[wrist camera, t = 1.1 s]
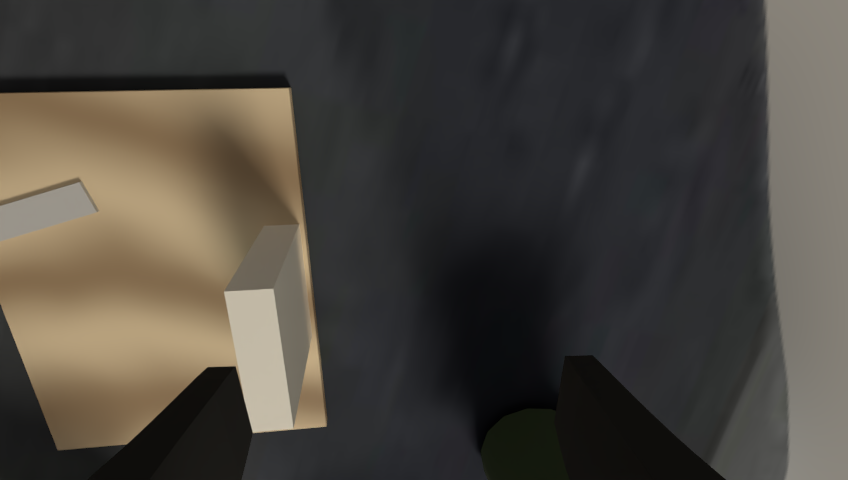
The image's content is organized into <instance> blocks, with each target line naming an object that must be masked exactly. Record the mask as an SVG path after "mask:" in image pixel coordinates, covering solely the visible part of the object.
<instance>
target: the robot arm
mask: <svg viewBox="0 0 848 480" xmlns="http://www.w3.org/2000/svg"><path fill="white" fill-rule="evenodd" d="M554 424H555V428H556V432H557V436H558V441H559V445H560V449H561V453H562V457H563V460H564V464H565V468H566V471H567V474H568V477H569V479H570V480H726V479H724V478H723V477H722V476H721V475H720V474H718V473H717V472H716V471H715V470H714V469H713V468H711V467H710V466H709V465H708V464H707V463H706V462H704V461H703V460H702V459H701V458H700V457H698V456H697V455H696V454H695V453H694V452H693V451H691V450H690V449H689V448H688V447H687V446H686V445H685V444H684V443H683V442H681V441H680V440H679V439H678V438H677V437H676V436H675V435H674V434H673V433H672V432H671V431H669V430H668V429H667V428H666V427H665V426H664V425H663V424H662V423H661V422H660V421H659V420H658V419H657V418H656V417H655V416H653V415H652V414H651V413H650V412H649V411H648V410H647V409H646V408H645V407H644V406H643V405H642V404H641V403H640V402H639V401H638V400H637V399H636V398H635V397H634V396H633V395H632V394H631V393H630V392H629V391H628V390H627V389H626V388H625V387H624V386H623V385H622V384H621V383H620V382H619V381H618V380H617V379H616V378H615V377H614V376H613V375H612V374H611V373H610V372H609V371H608V370H607V369H606V368H605V367H604V366H603V365H602V364H601V363H600V362H599V361H598V360H597V359H596V358H595V357H594V356H593V355H589V356H565V360H564V366H563V372H562V378H561V384H560V390H559V396H558V402H557V408H556V414H555V420H554ZM252 433H253V432H252V428H251V424H250V420H249V416H248V412H247V408H246V404H245V401H244V397H243V393H242V389H241V385H240V381H239V377H238V374H237V370H236V366H227V367H207V368H206V369H205V370H204V371H203V372H202V373H201V374H200V375H198V376H197V377H196V378H195V379H194V380H193V381H192V382H191V383H190V384H189V385H188V386H187V387H186V388H185V389H184V390H183V391H182V392H181V393H180V394H179V395H178V396H177V397H176V398H175V399H174V400H173V401H172V402H171V403H170V404H169V405H168V406H167V407H166V408H165V409H164V410H163V411H162V412H161V413H159V414H158V415H157V416H156V417H155V418H154V419H153V420H152V421H151V422H150V423H149V424H148V425H147V426H146V427H145V428H144V429H143V430H142V431H141V432H140V433H139V434H137V435H136V436H135V437H134V438H133V439H132V440H131V441H130V442H129V443H128V444H127V445H126V446H125V447H124V448H123V449H122V450H121V451H119V452H118V453H117V454H116V455H115V456H114V457H113V458H111V459H110V460H109V461H108V462H107V463H106V464H105V465H104V466H102V467H101V468H100V469H99V470H98V471H97V472H96V473H94V474H93V475H92V476H91V477H90V478H89V479H88V480H241V479H242V475H243V471H244V467H245V463H246V459H247V455H248V451H249V446H250V442H251V438H252Z"/></svg>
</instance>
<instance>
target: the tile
mask: <svg viewBox="0 0 848 480" xmlns="http://www.w3.org/2000/svg"><path fill="white" fill-rule="evenodd" d="M224 295H225V300H226V305H227V310H228V316H229V321H230V326H231V332H232V337H233V342H234V348H235V353H236V358H237V364H238V369H239V374H240V379H241V385H242V390H243V395H244V401H245V404H246V408H247V412H248V416H249V420H250V424H251V428H252V432H261V431H272V430H283V429H294V424H295V419H296V414H297V409H298V404H299V399H300V394H301V389H302V384H303V379H304V374H305V369H306V364H307V359H308V353H309V348H310V343H311V338H312V329H311V320H310V311H309V303H308V294H307V285H306V277H305V268H304V259H303V250H302V242H301V233H300V224H293V225H271V226H264V227H263V228H262V230H261V232H260V233H259V235H258V237H257V238H256V240H255V241H254V243H253V245H252V246H251V248H250V250H249V251H248V253H247V255H246V256H245V258H244V260H243V261H242V263H241V264H240V266H239V268H238V269H237V271H236V273H235V274H234V276H233V278H232V279H231V281H230V283H229V284H228V286H227V287H226V289H225V291H224Z"/></svg>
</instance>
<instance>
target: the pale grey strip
mask: <svg viewBox="0 0 848 480" xmlns="http://www.w3.org/2000/svg"><path fill="white" fill-rule="evenodd" d="M98 211H99V210H98V208H97V206H96V205H95V203H94V201H93V199H92V198H91V196H90V194H89V193H88V191H87V189H86V187H85V186H84V184H83V182H82V181H80V182H77V183H74V184H70V185H67V186H64V187H60V188H57V189H54V190H51V191H47V192H44V193H41V194H37V195H34V196H31V197H27V198H24V199H21V200H17V201H14V202H11V203H7V204H4V205H1V206H0V241H4V240H7V239H10V238H14V237H17V236H20V235H23V234H27V233H30V232H33V231H37V230H40V229H43V228H47V227H50V226H53V225H57V224H60V223H63V222H66V221H70V220H73V219H76V218H80V217H83V216H86V215H90V214H93V213H96V212H98Z"/></svg>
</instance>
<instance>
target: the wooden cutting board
mask: <svg viewBox="0 0 848 480" xmlns="http://www.w3.org/2000/svg"><path fill="white" fill-rule="evenodd" d="M80 181H82V182H83V184H84V186H85V187H86V189H87V191H88V193H89V194H90V196H91V198H92V199H93V201H94V203H95V205H96V206H97V208H98V210H99V211H98V212H96V213H93V214H90V215H86V216H83V217H80V218H76V219H73V220H70V221H66V222H63V223H60V224H57V225H53V226H50V227H47V228H43V229H40V230H37V231H33V232H30V233H27V234H23V235H20V236H17V237H14V238H10V239H7V240H4V241H0V304H1V306H2V309H3V312H4V314H5V317H6V319H7V322H8V324H9V327H10V330H11V332H12V335H13V337H14V340H15V342H16V345H17V347H18V350H19V353H20V355H21V358H22V360H23V363H24V365H25V368H26V371H27V373H28V376H29V378H30V381H31V383H32V386H33V389H34V391H35V394H36V396H37V399H38V401H39V404H40V406H41V409H42V412H43V414H44V417H45V419H46V422H47V424H48V427H49V430H50V432H51V435H52V437H53V440H54V442H55V445H56V447H57V450H69V449H80V448H91V447H102V446H114V445H125V444H128V443H129V442H130V441H131V440H132V439H133V438H134V437H135V436H136V435H137V434H139V433H140V432H141V431H142V430H143V429H144V428H145V427H146V426H147V425H148V424H149V423H150V422H151V421H152V420H153V419H154V418H155V417H156V416H157V415H158V414H159V413H161V412H162V411H163V410H164V409H165V408H166V407H167V406H168V405H169V404H170V403H171V402H172V401H173V400H174V399H175V398H176V397H177V396H178V395H179V394H180V393H181V392H182V391H183V390H184V389H185V388H186V387H187V386H188V385H189V384H190V383H191V382H192V381H193V380H194V379H195V378H196V377H197V376H198V375H200V374H201V373H202V372H203V371H204V370H205V369H206V368H207V367H227V366H236V370H237V374H238V377H239V381H240V385H241V379H240V374H239V369H238V364H237V358H236V353H235V348H234V342H233V337H232V332H231V326H230V321H229V316H228V310H227V305H226V300H225V295H224V291H225V289H226V287H227V286H228V284H229V283H230V281H231V279H232V278H233V276H234V274H235V273H236V271H237V269H238V268H239V266H240V264H241V263H242V261H243V260H244V258H245V256H246V255H247V253H248V251H249V250H250V248H251V246H252V245H253V243H254V241H255V240H256V238H257V237H258V235H259V233H260V232H261V230H262V228H263V227H264V226H271V225H293V224H300V233H301V242H302V250H303V259H304V268H305V277H306V285H307V294H308V303H309V311H310V320H311V329H312V338H311V343H310V348H309V353H308V359H307V364H306V369H305V374H304V379H303V384H302V389H301V394H300V399H299V404H298V409H297V414H296V419H295V424H294V429H304V428H315V427H326V426H327V412H326V403H325V394H324V385H323V375H322V366H321V357H320V348H319V339H318V330H317V321H316V311H315V302H314V293H313V284H312V275H311V266H310V257H309V248H308V238H307V229H306V220H305V211H304V202H303V193H302V184H301V175H300V165H299V156H298V147H297V138H296V129H295V120H294V111H293V101H292V92H291V88H235V89H178V90H122V91H65V92H8V93H0V206H1V205H4V204H7V203H11V202H14V201H17V200H21V199H24V198H27V197H31V196H34V195H37V194H41V193H44V192H47V191H51V190H54V189H57V188H60V187H64V186H67V185H70V184H74V183H77V182H80ZM241 389H242V385H241ZM242 393H243V390H242ZM243 397H244V395H243ZM283 430H293V429H283ZM272 431H281V430H272ZM261 432H270V431H261ZM253 433H259V432H253Z"/></svg>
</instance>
